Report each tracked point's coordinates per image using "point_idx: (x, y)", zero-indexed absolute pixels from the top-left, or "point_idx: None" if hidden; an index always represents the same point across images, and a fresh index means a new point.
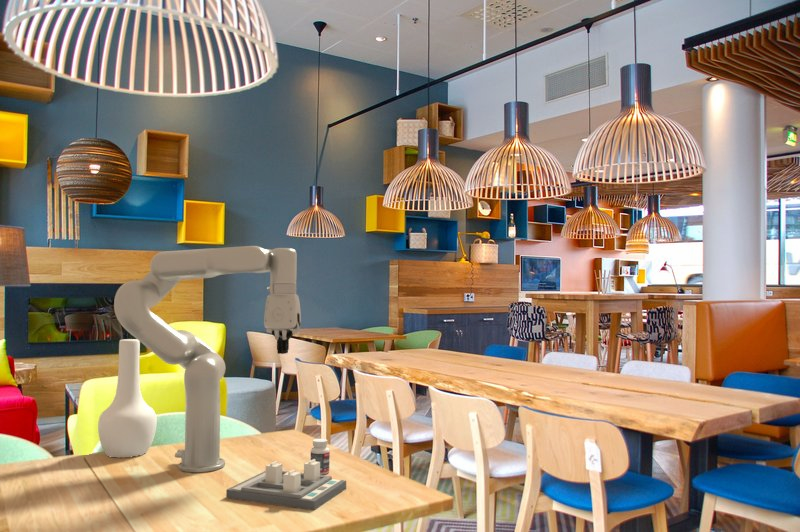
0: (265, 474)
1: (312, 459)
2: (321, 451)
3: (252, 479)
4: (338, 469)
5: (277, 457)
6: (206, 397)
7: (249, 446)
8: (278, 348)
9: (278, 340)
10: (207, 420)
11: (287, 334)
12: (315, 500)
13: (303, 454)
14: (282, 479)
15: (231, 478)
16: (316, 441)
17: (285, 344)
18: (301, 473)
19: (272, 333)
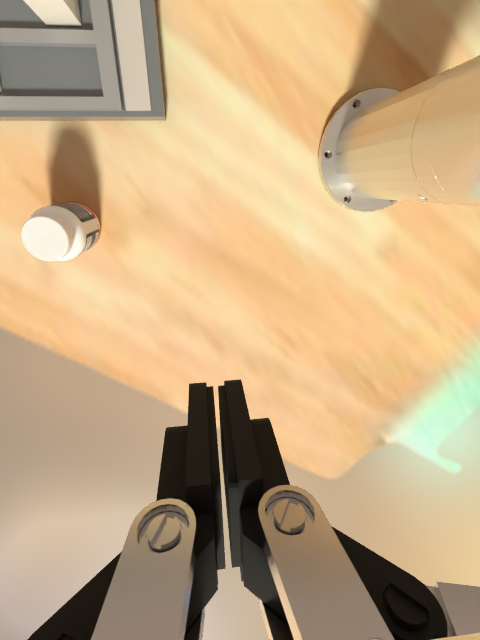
0: (136, 76)
1: (70, 206)
2: (34, 213)
3: (136, 9)
4: (55, 268)
5: (247, 298)
6: None
7: (355, 348)
8: (235, 406)
9: (248, 474)
10: (416, 95)
11: (108, 615)
12: None
13: (207, 342)
14: (48, 30)
15: (245, 88)
16: (43, 218)
17: (164, 468)
18: (35, 103)
19: (409, 579)
